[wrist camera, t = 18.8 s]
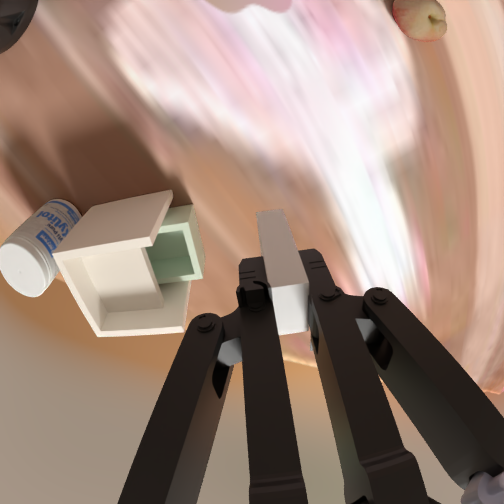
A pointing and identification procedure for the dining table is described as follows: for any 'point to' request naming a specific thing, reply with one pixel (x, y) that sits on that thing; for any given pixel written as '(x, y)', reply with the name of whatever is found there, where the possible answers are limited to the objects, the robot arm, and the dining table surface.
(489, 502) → the robot arm
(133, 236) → the box
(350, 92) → the dining table surface
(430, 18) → the fruit
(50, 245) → the supplement tub
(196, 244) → the tray
